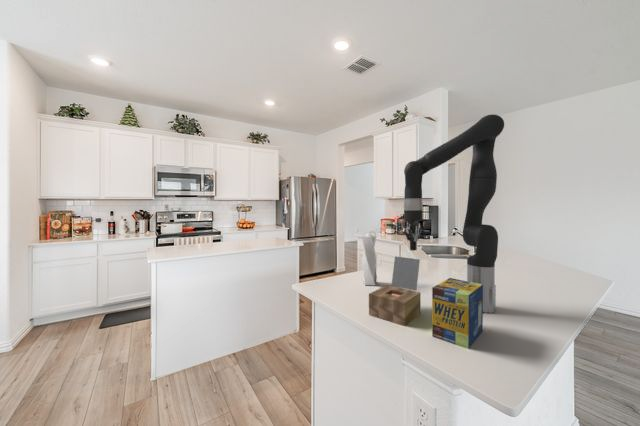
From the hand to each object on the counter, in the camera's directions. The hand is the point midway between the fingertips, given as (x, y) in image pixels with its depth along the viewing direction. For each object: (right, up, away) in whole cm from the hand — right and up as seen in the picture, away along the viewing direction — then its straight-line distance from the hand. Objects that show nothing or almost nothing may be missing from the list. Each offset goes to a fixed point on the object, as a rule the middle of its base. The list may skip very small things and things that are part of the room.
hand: (413, 250), depth 111 cm
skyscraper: (-13, -22, +26) cm, 36 cm away
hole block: (-12, -22, -13) cm, 28 cm away
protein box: (+4, -23, -28) cm, 36 cm away
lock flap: (-6, -8, -6) cm, 12 cm away
